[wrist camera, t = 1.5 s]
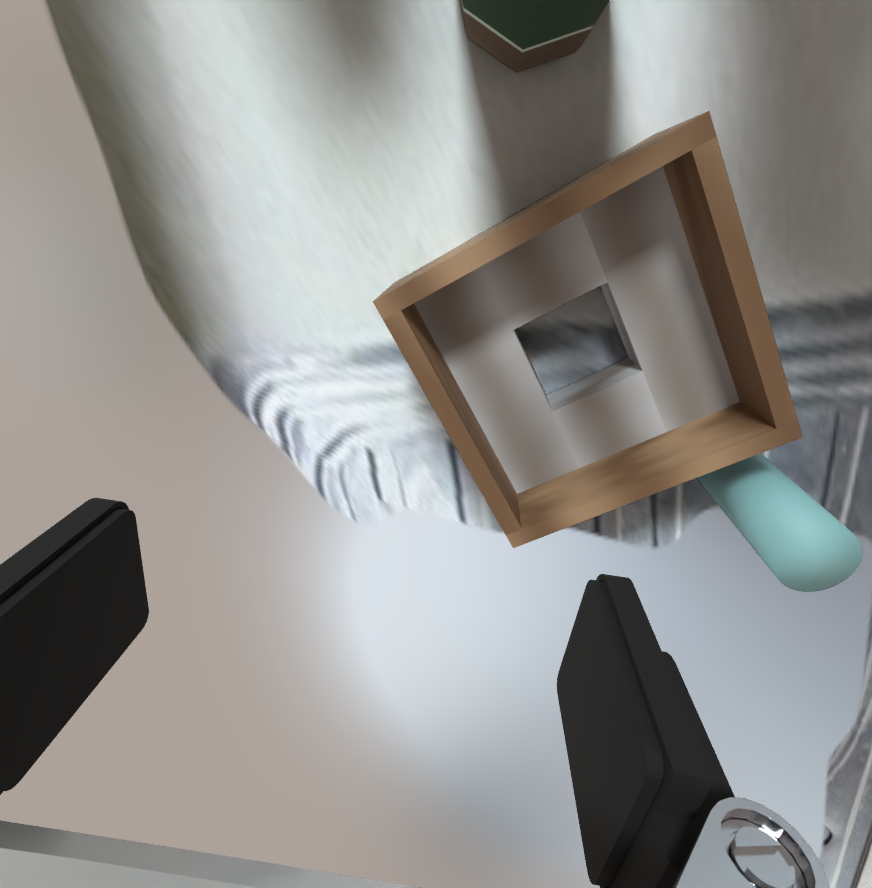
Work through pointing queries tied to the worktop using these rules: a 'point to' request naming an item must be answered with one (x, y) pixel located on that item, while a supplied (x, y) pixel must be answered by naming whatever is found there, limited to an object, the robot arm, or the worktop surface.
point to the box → (638, 322)
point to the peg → (784, 524)
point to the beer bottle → (529, 28)
